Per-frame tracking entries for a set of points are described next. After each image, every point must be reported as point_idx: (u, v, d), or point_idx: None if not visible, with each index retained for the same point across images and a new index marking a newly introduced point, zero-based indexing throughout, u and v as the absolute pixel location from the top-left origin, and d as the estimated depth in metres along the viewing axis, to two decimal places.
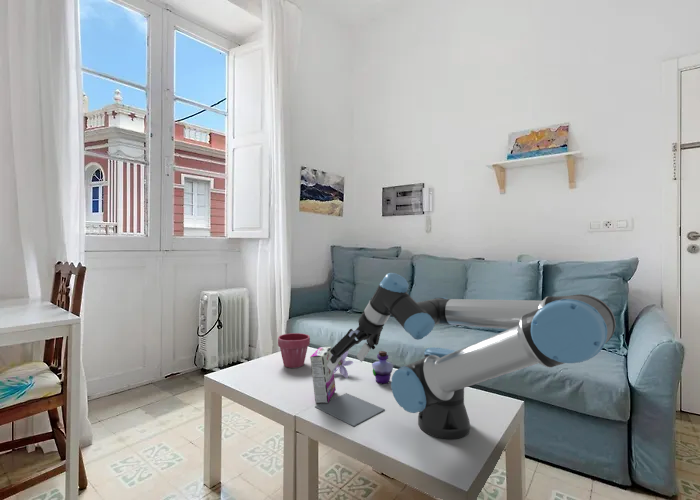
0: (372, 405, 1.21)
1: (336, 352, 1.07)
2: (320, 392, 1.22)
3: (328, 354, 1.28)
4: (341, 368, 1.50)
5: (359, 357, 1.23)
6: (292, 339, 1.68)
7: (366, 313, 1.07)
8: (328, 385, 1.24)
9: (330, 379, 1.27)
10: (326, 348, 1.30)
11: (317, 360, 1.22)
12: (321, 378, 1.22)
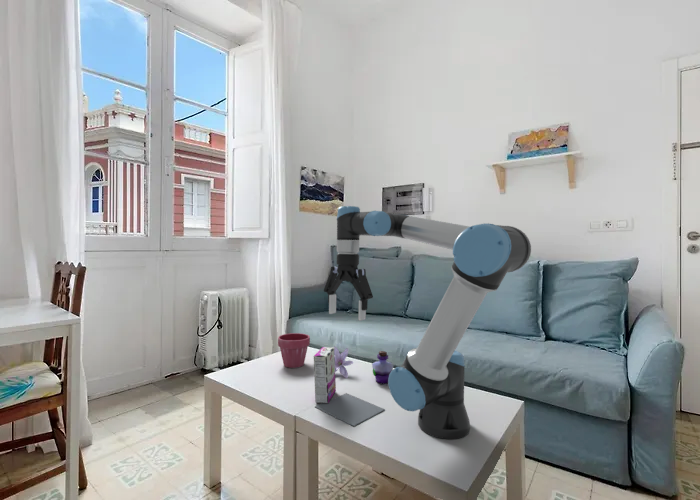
0: (372, 405, 1.21)
1: None
2: (321, 392, 1.22)
3: (331, 354, 1.28)
4: (341, 368, 1.50)
5: None
6: (292, 339, 1.68)
7: None
8: (329, 385, 1.24)
9: (331, 380, 1.27)
10: (329, 348, 1.30)
11: (320, 360, 1.22)
12: (323, 378, 1.22)
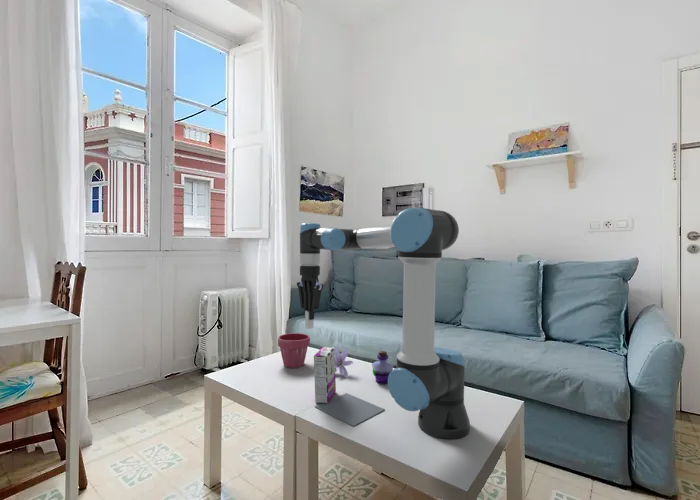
0: (372, 405, 1.21)
1: None
2: (321, 392, 1.22)
3: (331, 354, 1.28)
4: (341, 368, 1.50)
5: None
6: (292, 339, 1.68)
7: None
8: (329, 385, 1.24)
9: (331, 380, 1.27)
10: (329, 348, 1.30)
11: (320, 360, 1.22)
12: (323, 378, 1.22)
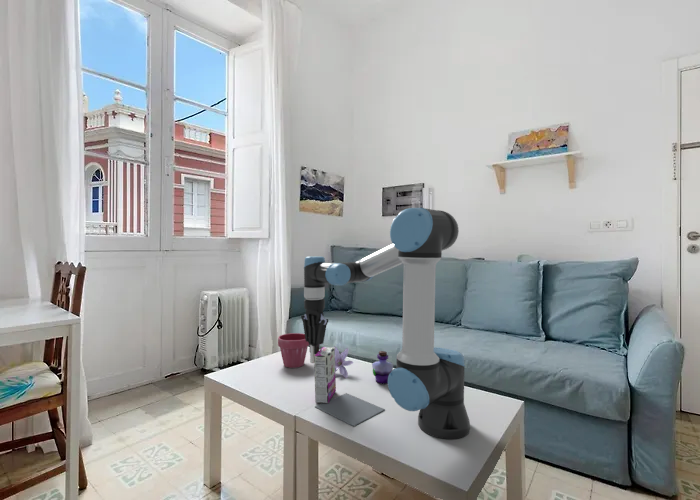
0: (372, 405, 1.21)
1: None
2: (321, 392, 1.22)
3: (332, 354, 1.28)
4: (341, 368, 1.50)
5: None
6: (292, 339, 1.68)
7: None
8: (330, 385, 1.24)
9: (332, 380, 1.27)
10: (330, 348, 1.30)
11: (321, 360, 1.22)
12: (323, 378, 1.22)
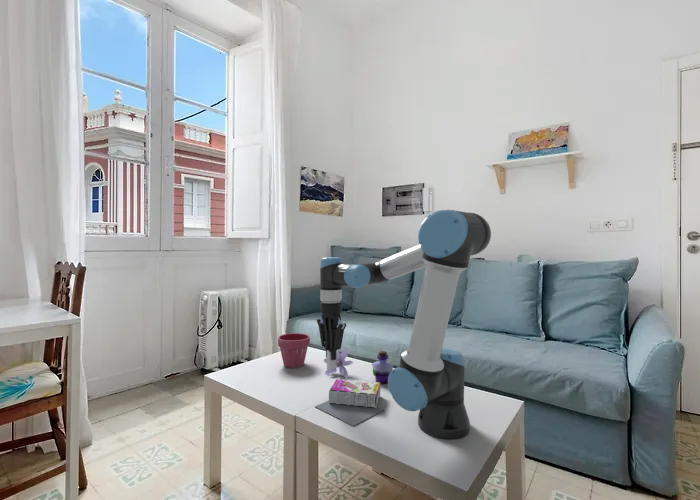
0: None
1: None
2: (339, 398, 1.21)
3: None
4: (341, 368, 1.50)
5: None
6: (292, 339, 1.68)
7: None
8: None
9: None
10: (379, 394, 1.27)
11: (371, 401, 1.18)
12: (353, 402, 1.20)
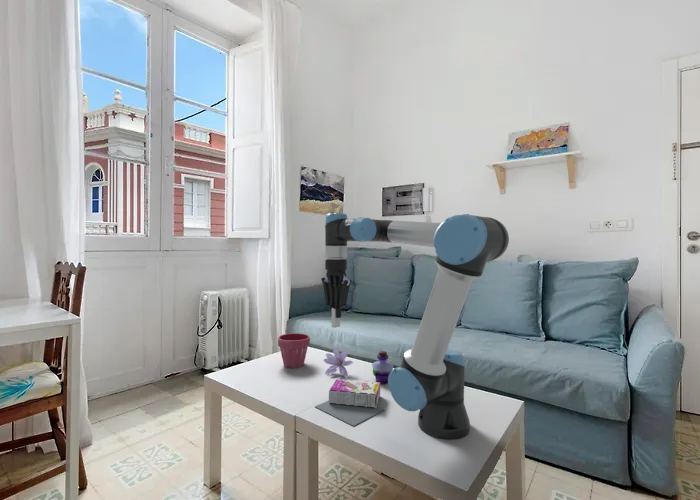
0: None
1: None
2: (339, 398, 1.21)
3: None
4: (341, 368, 1.50)
5: None
6: (292, 339, 1.68)
7: None
8: None
9: None
10: (379, 394, 1.27)
11: (371, 401, 1.18)
12: (353, 402, 1.20)
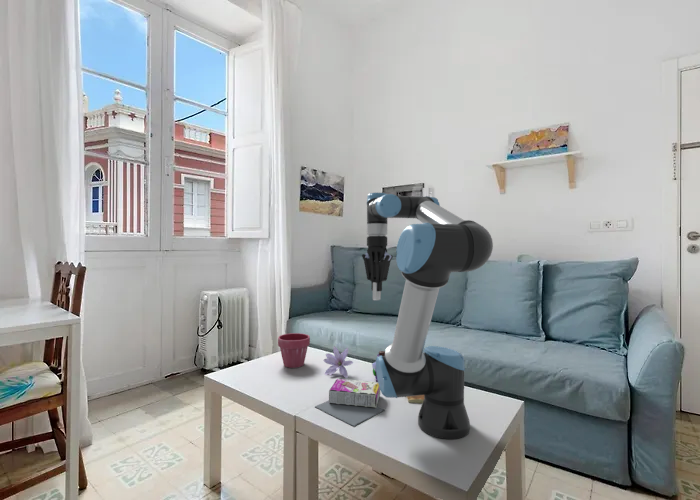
0: None
1: None
2: (339, 398, 1.21)
3: None
4: (341, 368, 1.50)
5: None
6: (292, 339, 1.68)
7: None
8: None
9: None
10: (379, 394, 1.27)
11: (371, 401, 1.18)
12: (353, 402, 1.20)
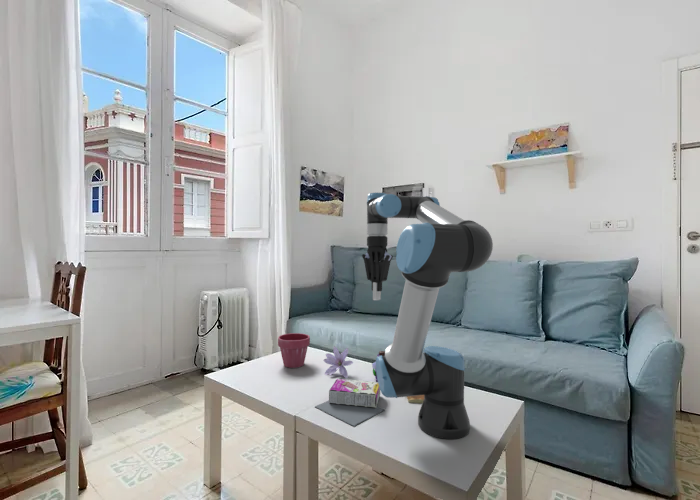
0: None
1: None
2: (339, 398, 1.21)
3: None
4: (341, 368, 1.50)
5: None
6: (292, 339, 1.68)
7: None
8: None
9: None
10: (379, 394, 1.27)
11: (371, 401, 1.18)
12: (353, 402, 1.20)
